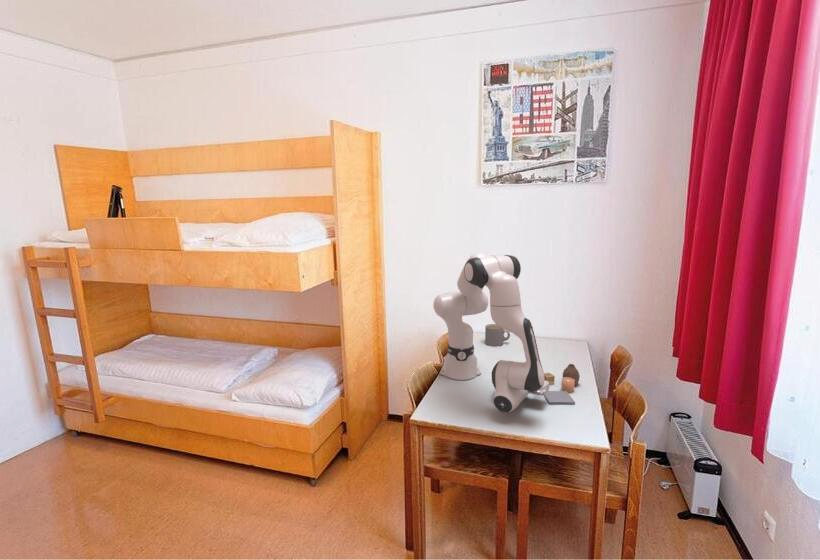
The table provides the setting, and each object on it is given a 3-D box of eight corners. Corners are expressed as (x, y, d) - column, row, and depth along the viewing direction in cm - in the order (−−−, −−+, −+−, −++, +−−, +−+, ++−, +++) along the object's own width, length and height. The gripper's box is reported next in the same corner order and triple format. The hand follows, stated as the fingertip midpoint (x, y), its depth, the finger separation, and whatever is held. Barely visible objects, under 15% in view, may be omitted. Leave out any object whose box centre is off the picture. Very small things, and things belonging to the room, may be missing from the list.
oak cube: (540, 382, 189) (541, 373, 188) (548, 380, 190) (548, 372, 189) (546, 385, 185) (546, 377, 184) (554, 384, 186) (554, 375, 186)
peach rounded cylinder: (559, 387, 183) (560, 376, 182) (571, 388, 183) (572, 376, 182) (563, 393, 178) (564, 381, 177) (575, 393, 178) (576, 381, 177)
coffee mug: (483, 345, 237) (483, 328, 235) (487, 340, 246) (487, 323, 244) (508, 348, 232) (508, 330, 230) (510, 342, 241) (511, 325, 239)
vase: (578, 381, 189) (579, 362, 187) (579, 388, 182) (581, 368, 181) (561, 380, 191) (562, 361, 189) (562, 386, 184) (563, 367, 182)
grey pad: (542, 393, 178) (542, 391, 178) (566, 393, 178) (566, 391, 177) (549, 404, 168) (549, 402, 168) (574, 404, 168) (575, 402, 168)
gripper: (544, 386, 161) (554, 373, 172) (492, 375, 172) (505, 364, 183) (543, 402, 162) (553, 388, 174) (492, 389, 173) (504, 377, 184)
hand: (528, 375), depth 178 cm, fingers open, 8 cm apart
